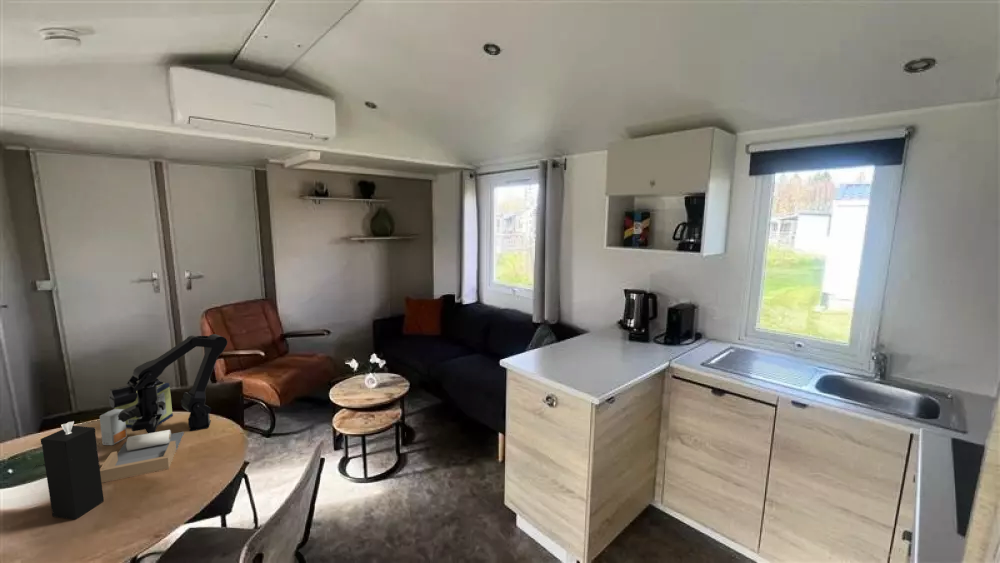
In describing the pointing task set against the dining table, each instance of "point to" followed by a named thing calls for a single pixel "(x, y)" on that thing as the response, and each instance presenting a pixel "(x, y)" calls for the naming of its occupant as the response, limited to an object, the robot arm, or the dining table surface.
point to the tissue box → (72, 471)
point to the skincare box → (112, 427)
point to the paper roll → (148, 440)
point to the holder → (139, 460)
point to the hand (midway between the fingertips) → (151, 436)
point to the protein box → (163, 395)
